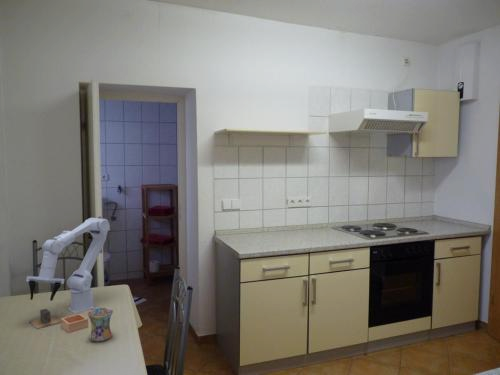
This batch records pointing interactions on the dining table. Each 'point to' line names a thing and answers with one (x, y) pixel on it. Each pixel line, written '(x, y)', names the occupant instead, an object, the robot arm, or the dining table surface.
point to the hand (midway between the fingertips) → (41, 299)
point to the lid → (45, 320)
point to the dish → (74, 323)
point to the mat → (41, 328)
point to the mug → (100, 324)
